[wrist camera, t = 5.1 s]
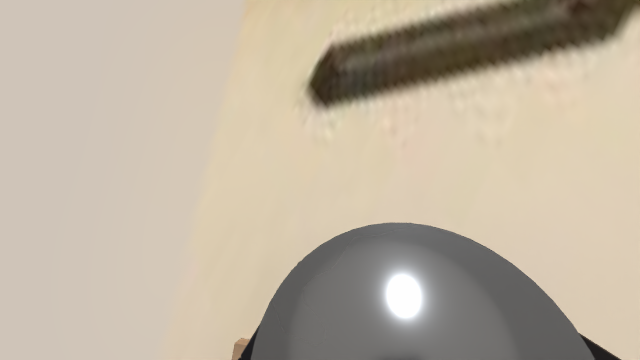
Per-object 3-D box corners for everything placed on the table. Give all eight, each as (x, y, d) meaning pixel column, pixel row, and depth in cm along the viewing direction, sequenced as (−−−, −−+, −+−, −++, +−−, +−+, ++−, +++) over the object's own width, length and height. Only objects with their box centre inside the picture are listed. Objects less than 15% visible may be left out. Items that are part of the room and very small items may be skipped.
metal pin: (415, 279, 13) (720, 417, 2) (372, 333, 13) (474, 880, 2) (363, 233, 15) (381, 167, 3) (322, 281, 14) (187, 387, 3)
